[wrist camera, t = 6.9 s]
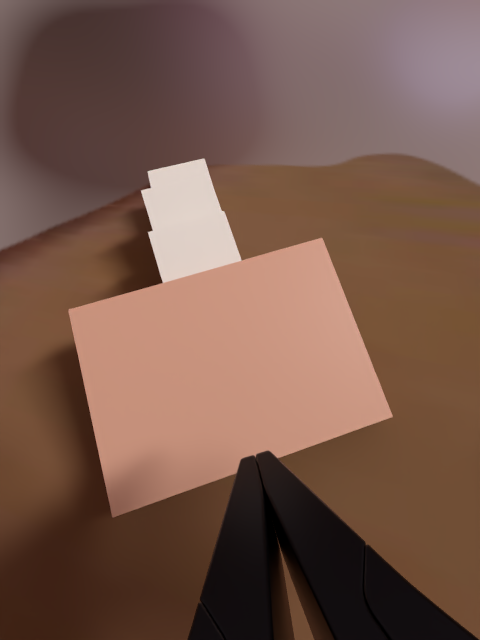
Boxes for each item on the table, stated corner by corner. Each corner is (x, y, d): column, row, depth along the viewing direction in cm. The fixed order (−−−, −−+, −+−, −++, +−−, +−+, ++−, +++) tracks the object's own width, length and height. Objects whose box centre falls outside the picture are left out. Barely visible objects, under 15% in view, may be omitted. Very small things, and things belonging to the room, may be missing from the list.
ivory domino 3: (276, 360, 15) (224, 211, 17) (193, 388, 15) (147, 232, 16) (272, 361, 17) (224, 224, 19) (197, 386, 16) (154, 243, 18)
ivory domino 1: (234, 255, 20) (204, 158, 23) (169, 271, 20) (147, 171, 23) (235, 265, 21) (206, 173, 24) (175, 281, 21) (153, 186, 24)
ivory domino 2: (252, 299, 18) (208, 172, 19) (180, 321, 17) (141, 190, 19) (250, 304, 19) (210, 187, 21) (184, 325, 19) (148, 204, 20)
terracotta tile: (392, 416, 13) (322, 237, 15) (112, 517, 12) (68, 309, 13) (371, 410, 15) (311, 253, 17) (129, 496, 14) (88, 317, 15)
